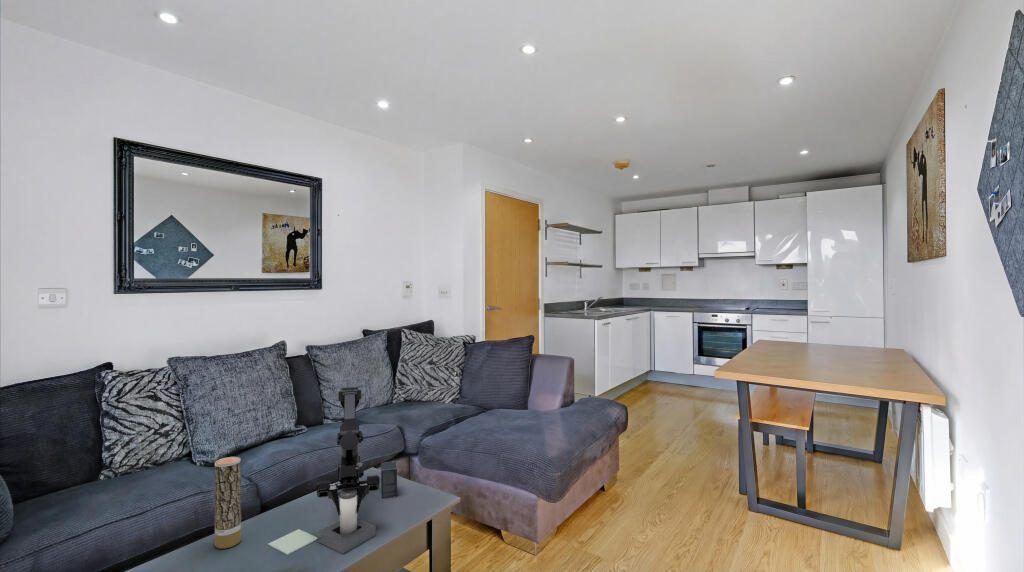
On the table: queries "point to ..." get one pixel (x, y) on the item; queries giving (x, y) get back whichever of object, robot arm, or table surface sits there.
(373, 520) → the table surface
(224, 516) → the bark textured cylinder
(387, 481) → the box
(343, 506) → the plug
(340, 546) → the frame
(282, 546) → the mat
